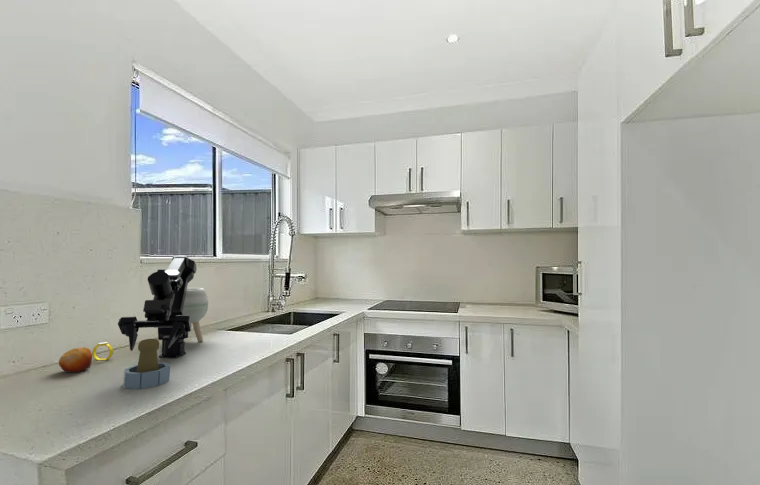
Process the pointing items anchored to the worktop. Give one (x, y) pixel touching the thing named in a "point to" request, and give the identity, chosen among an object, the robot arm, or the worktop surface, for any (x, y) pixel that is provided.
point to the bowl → (146, 377)
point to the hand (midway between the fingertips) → (149, 349)
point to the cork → (148, 356)
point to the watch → (102, 345)
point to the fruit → (76, 360)
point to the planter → (196, 308)
